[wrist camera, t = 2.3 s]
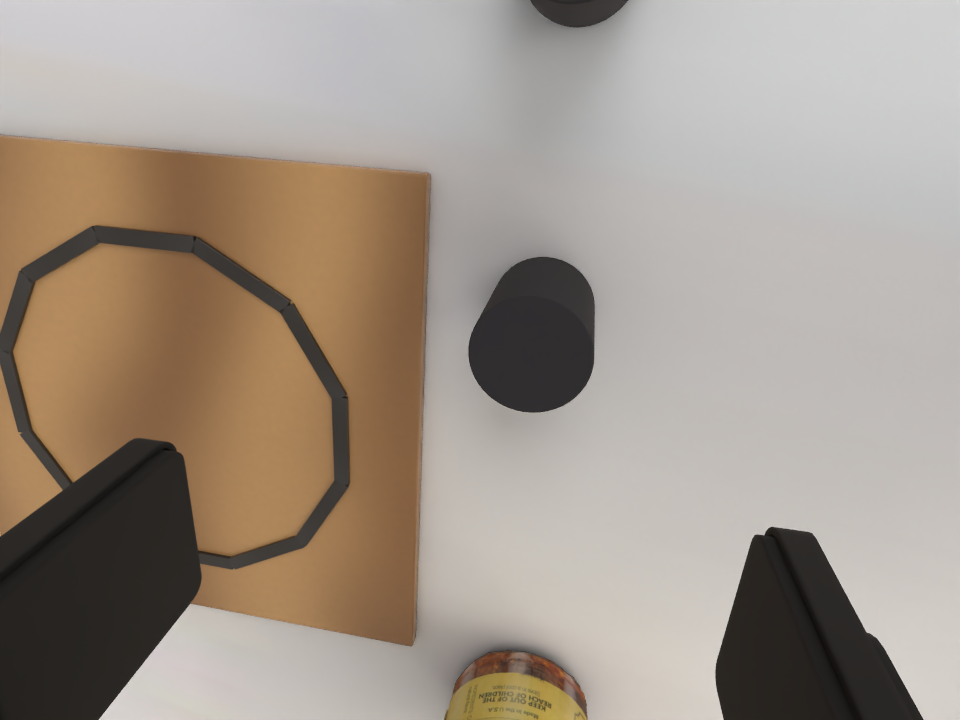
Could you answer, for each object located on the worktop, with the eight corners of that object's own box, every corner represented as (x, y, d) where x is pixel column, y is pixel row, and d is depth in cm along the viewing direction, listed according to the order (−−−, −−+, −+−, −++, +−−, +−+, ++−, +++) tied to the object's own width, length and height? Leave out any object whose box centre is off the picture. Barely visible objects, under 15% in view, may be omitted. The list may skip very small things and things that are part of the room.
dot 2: (601, 262, 20) (602, 303, 16) (586, 359, 21) (585, 421, 17) (497, 251, 20) (471, 289, 16) (489, 347, 22) (464, 404, 17)
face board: (431, 173, 20) (425, 175, 19) (416, 636, 27) (411, 650, 27) (-107, 125, 22) (-129, 125, 22) (20, 560, 30) (7, 571, 29)
